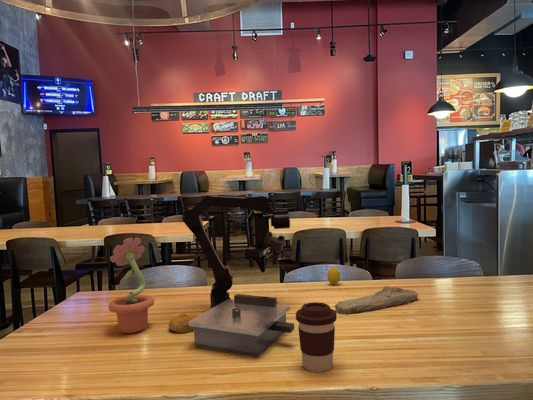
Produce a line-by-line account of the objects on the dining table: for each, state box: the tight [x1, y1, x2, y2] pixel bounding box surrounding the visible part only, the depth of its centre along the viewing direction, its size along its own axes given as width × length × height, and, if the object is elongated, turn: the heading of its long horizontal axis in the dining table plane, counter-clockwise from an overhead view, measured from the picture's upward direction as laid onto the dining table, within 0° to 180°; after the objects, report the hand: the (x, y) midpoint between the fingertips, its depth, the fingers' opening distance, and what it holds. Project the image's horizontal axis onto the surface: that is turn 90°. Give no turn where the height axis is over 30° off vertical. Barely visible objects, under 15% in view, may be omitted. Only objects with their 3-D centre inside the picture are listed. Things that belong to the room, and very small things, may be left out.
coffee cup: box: [295, 301, 338, 373], centre depth 97 cm, size 10×10×15 cm
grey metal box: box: [193, 312, 295, 358], centre depth 115 cm, size 26×20×6 cm
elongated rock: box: [334, 285, 419, 315], centre depth 142 cm, size 35×5×10 cm
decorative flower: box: [108, 237, 157, 334], centre depth 126 cm, size 15×14×30 cm
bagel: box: [168, 313, 198, 334], centre depth 127 cm, size 10×11×5 cm
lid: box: [189, 293, 291, 336], centre depth 116 cm, size 22×22×4 cm
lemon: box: [326, 266, 341, 286], centre depth 170 cm, size 6×6×8 cm
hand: (263, 272), depth 143 cm, fingers closed
